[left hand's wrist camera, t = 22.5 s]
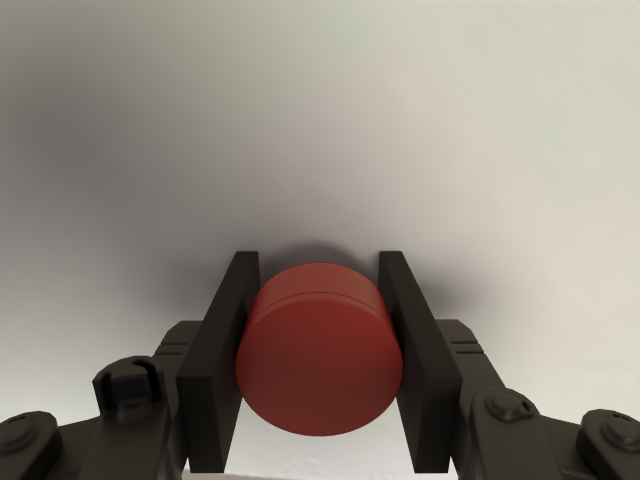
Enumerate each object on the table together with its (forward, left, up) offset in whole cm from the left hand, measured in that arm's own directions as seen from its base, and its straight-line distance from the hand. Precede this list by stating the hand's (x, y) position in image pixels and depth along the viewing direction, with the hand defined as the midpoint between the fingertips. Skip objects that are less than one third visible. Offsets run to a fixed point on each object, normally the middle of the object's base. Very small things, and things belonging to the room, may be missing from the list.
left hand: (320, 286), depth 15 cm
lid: (0, 0, +4) cm, 4 cm away
